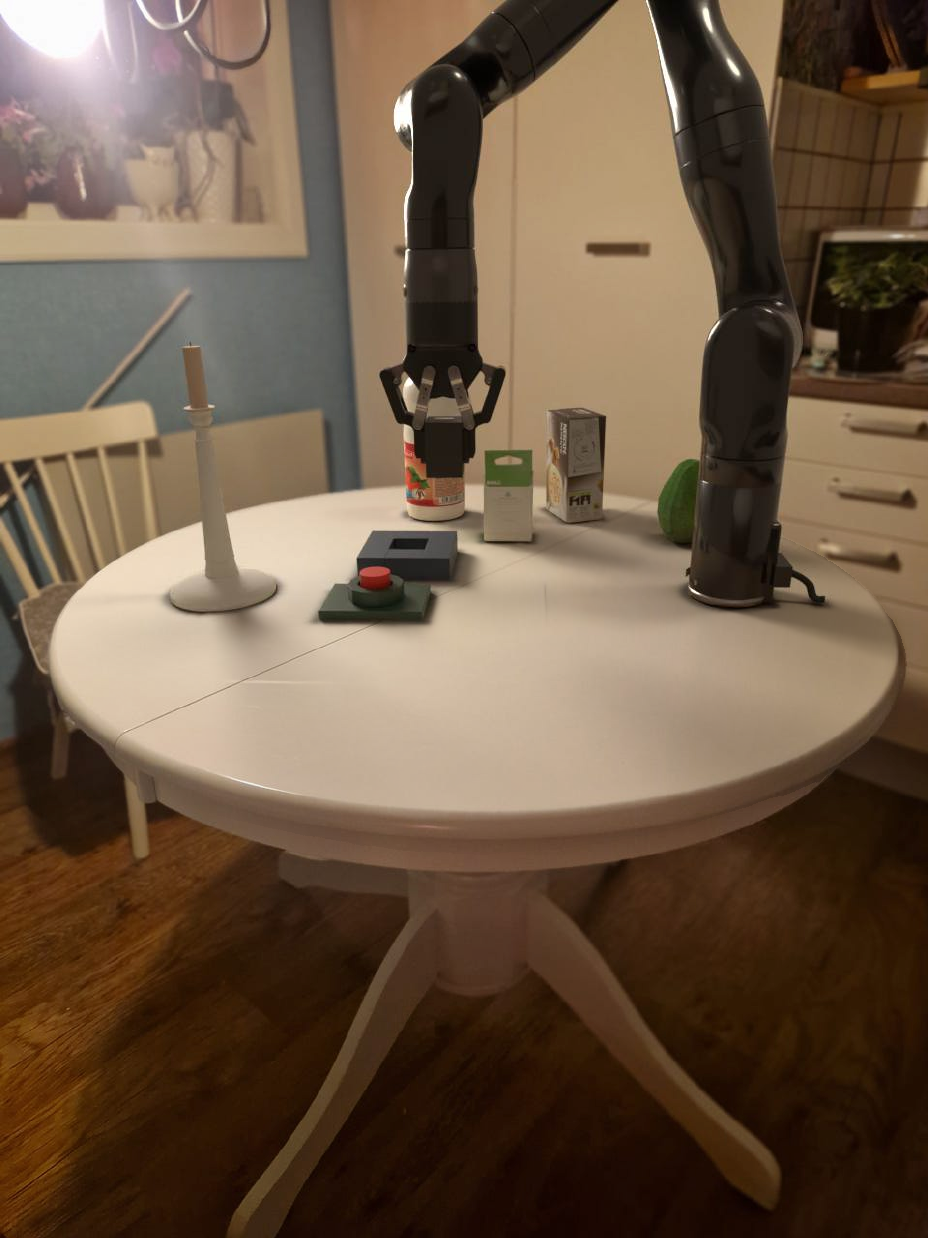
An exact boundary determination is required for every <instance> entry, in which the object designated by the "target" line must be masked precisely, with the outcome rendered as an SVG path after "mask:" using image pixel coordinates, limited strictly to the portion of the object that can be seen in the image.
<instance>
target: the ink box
mask: <svg viewBox="0 0 928 1238" xmlns="http://www.w3.org/2000/svg"><path fill="white" fill-rule="evenodd" d="M483 454H484V474H483V540H484V542H532V539H533V538H532V537H533V511H534V510H533V507H534V506H533V504H534V470H533V449H489V450H488V449H487V450H486V449H485V450H484V451H483ZM508 457H510V458H516V459H520V460H521V462H520V463H507V464H506V463H505V464H504V463H503V464H501V463H498V464H497V463H496V461H497V460H499V459H502V458H508Z"/></svg>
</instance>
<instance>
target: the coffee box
mask: <svg viewBox="0 0 928 1238" xmlns="http://www.w3.org/2000/svg"><path fill="white" fill-rule="evenodd" d="M606 432H607V415H604V414H602V413H599V412H596V411H593V410H590V409H587V408H584V407H570V408H559V409H547V410H546V490H545V491H546V493H545V495H546V496H545V498H546V499H545V508H546V509H545V510H546V511H548V512H549V513H551V514H553V515H554V516H556V517H557V518H559V519H560V520H562V521H563V522H564V523H567V524H570V523H571V524H572V523H579V522H588V521H598V520H602V519H603V508H604V507H603V506H604V505H603V504H604V484H605V483H604V480H605V457H606V455H605V454H606V452H605V451H606Z"/></svg>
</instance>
